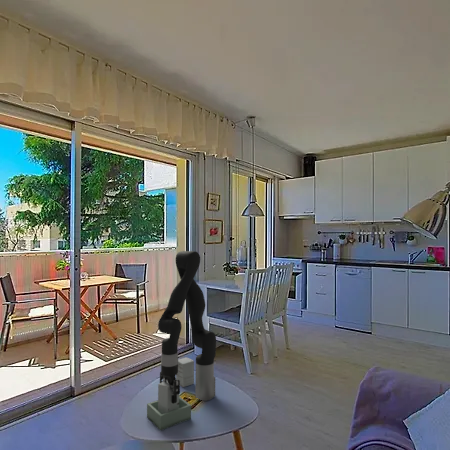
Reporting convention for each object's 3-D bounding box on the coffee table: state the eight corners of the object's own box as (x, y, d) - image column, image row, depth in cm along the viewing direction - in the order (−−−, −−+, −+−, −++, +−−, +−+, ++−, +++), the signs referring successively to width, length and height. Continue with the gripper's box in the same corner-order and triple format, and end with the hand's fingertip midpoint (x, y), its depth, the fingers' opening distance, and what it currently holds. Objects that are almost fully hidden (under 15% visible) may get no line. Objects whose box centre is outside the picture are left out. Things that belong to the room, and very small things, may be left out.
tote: (176, 407, 164) (176, 394, 164) (190, 418, 153) (191, 405, 153) (146, 417, 154) (147, 403, 155) (160, 430, 144) (160, 416, 144)
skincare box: (167, 422, 149) (167, 387, 149) (157, 417, 152) (157, 383, 152) (179, 413, 156) (180, 380, 156) (169, 409, 159) (170, 377, 159)
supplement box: (186, 379, 194) (187, 356, 195) (194, 383, 189) (194, 360, 189) (175, 383, 190) (175, 359, 190) (182, 387, 184) (183, 363, 184)
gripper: (185, 365, 151) (185, 402, 151) (169, 356, 162) (169, 390, 162) (169, 369, 146) (169, 408, 146) (154, 359, 158) (154, 395, 157)
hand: (169, 399), depth 154 cm, fingers open, 8 cm apart
